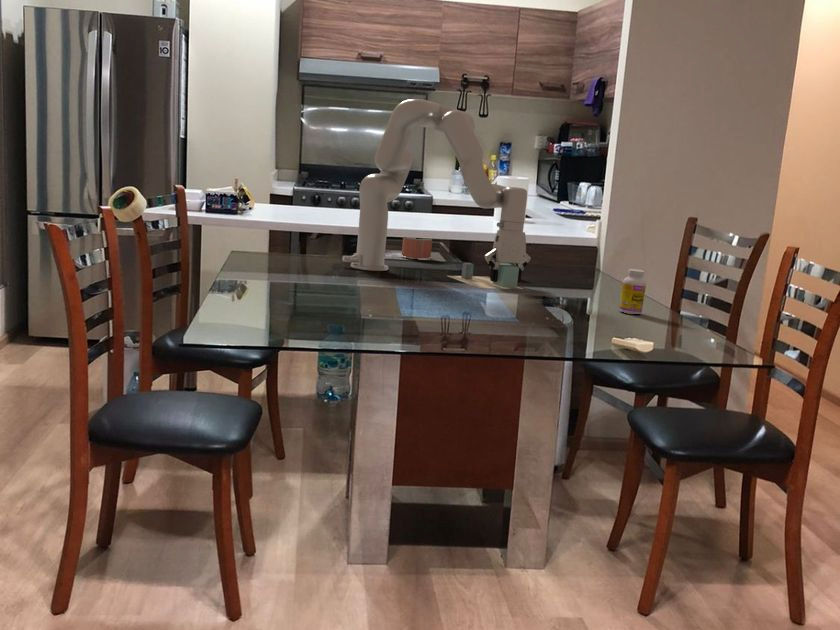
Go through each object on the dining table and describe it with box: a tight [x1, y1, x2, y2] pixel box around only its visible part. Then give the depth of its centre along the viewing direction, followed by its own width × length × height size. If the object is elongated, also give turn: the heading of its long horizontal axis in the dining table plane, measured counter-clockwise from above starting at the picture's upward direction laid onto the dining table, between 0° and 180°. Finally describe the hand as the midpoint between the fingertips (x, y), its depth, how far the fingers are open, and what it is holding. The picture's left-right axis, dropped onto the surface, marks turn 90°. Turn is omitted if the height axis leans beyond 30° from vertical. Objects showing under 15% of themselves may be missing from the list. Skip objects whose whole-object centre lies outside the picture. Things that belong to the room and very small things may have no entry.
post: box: [460, 262, 475, 279], centre depth 287 cm, size 3×3×5 cm
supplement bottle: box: [618, 268, 647, 315], centre depth 258 cm, size 7×7×13 cm
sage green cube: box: [493, 263, 519, 287], centre depth 280 cm, size 6×6×7 cm
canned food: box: [401, 238, 433, 258], centre depth 335 cm, size 11×11×12 cm
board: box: [447, 275, 524, 290], centre depth 284 cm, size 16×22×1 cm
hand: (505, 281), depth 280 cm, fingers open, 8 cm apart
